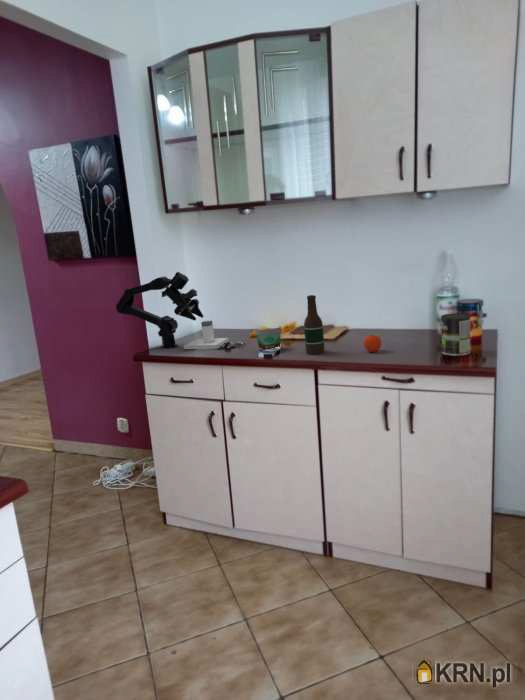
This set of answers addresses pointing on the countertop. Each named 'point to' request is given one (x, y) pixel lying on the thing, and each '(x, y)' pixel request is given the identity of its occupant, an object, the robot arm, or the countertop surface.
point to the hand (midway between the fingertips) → (199, 318)
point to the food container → (268, 338)
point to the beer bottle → (313, 329)
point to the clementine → (372, 343)
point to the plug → (207, 331)
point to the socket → (206, 344)
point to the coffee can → (455, 334)
